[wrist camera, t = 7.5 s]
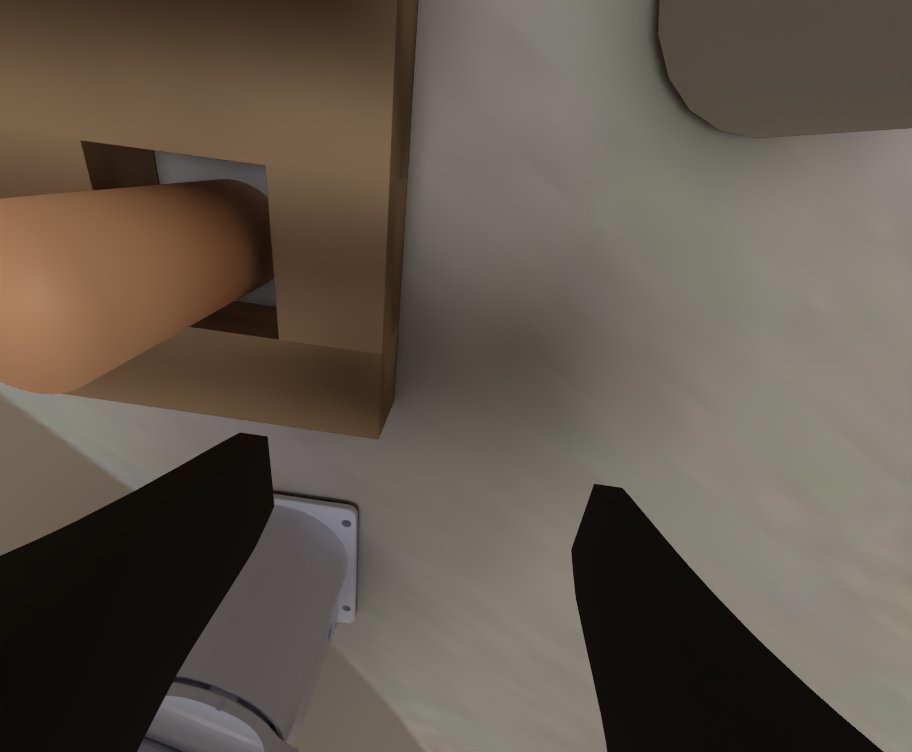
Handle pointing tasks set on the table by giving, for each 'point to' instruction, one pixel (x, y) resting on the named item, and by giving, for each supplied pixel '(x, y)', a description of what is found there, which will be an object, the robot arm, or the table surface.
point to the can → (791, 64)
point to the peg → (120, 273)
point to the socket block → (244, 140)
